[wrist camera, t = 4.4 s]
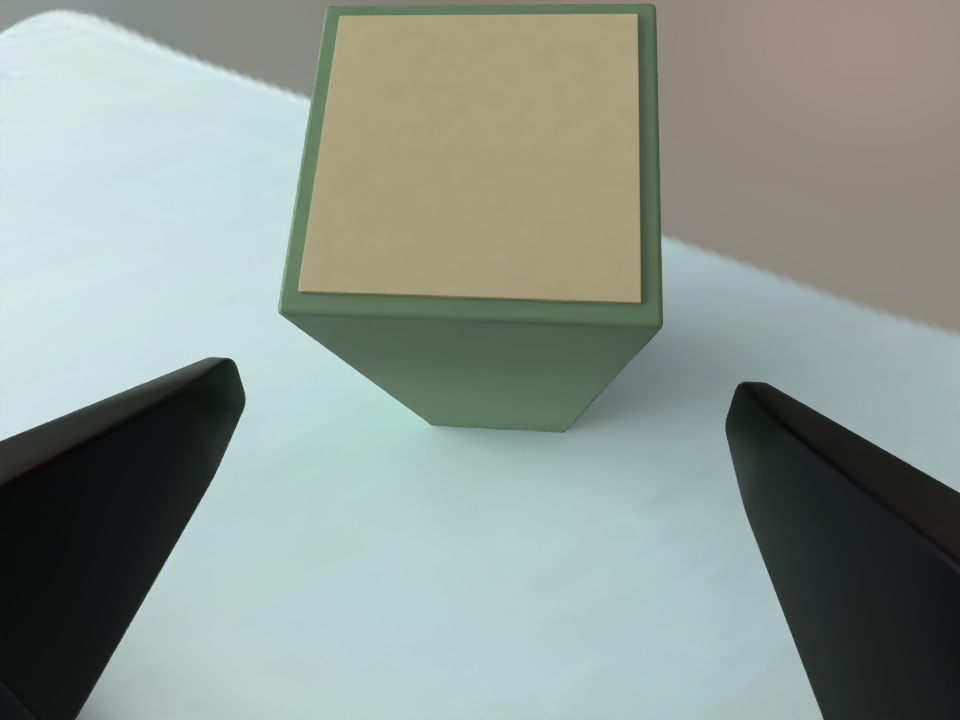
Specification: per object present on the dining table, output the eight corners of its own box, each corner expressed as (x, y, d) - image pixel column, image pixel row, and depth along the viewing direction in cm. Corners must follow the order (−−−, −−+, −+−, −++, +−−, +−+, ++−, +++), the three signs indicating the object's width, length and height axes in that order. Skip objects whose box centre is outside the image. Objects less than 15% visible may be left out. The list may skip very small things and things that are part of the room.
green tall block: (568, 432, 19) (677, 326, 6) (430, 425, 19) (272, 311, 7) (570, 304, 20) (668, -5, 7) (440, 299, 21) (322, -1, 8)
